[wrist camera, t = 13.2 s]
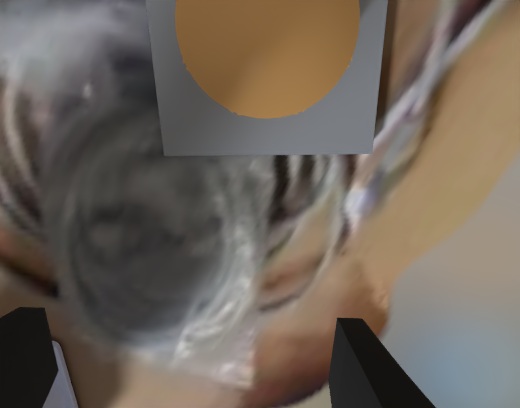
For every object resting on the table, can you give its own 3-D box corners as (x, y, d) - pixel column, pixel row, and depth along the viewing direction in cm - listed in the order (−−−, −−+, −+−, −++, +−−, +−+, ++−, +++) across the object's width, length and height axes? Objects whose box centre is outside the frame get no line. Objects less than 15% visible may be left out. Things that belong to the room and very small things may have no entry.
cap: (205, 97, 16) (184, 119, 12) (195, -48, 14) (165, -84, 10) (328, 95, 16) (352, 117, 11) (336, -50, 14) (368, -88, 9)
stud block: (366, 147, 18) (397, 182, 13) (169, 150, 18) (139, 184, 14) (393, -131, 14) (449, -205, 9) (138, -125, 14) (82, -193, 10)
